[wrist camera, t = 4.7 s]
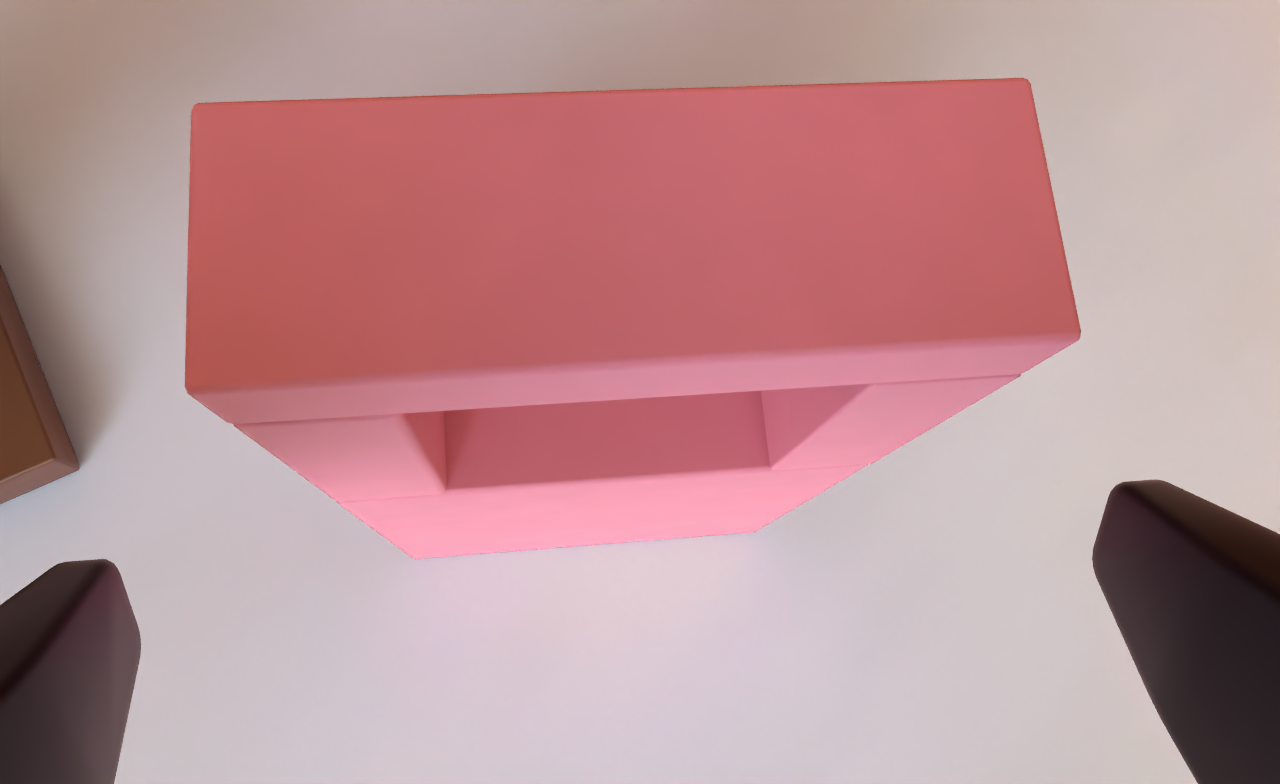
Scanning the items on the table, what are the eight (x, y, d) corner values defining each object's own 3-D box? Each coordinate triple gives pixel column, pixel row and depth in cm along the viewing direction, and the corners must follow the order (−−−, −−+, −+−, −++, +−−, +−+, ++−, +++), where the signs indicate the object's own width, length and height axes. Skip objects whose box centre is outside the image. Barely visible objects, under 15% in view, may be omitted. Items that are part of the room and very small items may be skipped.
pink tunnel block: (757, 532, 19) (1087, 340, 7) (411, 559, 18) (181, 393, 7) (745, 418, 20) (1033, 73, 8) (407, 440, 19) (186, 98, 7)
